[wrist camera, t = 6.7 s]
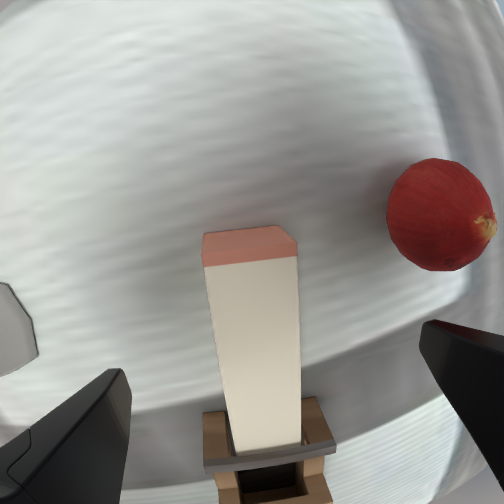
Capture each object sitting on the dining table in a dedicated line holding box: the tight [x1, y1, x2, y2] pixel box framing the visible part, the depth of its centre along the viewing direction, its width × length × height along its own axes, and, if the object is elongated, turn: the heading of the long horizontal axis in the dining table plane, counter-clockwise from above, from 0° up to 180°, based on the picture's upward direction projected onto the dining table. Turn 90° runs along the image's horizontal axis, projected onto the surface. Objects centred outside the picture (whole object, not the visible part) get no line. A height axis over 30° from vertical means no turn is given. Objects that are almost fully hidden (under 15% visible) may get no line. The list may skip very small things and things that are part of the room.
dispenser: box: [203, 397, 337, 504], centre depth 20 cm, size 13×8×6 cm, turn 5°
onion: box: [386, 158, 497, 271], centre depth 14 cm, size 6×6×8 cm
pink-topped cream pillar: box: [201, 225, 301, 456], centre depth 17 cm, size 14×4×4 cm, turn 5°
